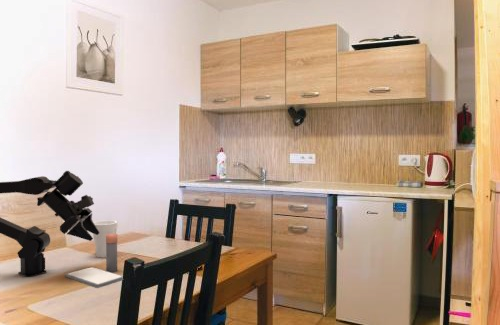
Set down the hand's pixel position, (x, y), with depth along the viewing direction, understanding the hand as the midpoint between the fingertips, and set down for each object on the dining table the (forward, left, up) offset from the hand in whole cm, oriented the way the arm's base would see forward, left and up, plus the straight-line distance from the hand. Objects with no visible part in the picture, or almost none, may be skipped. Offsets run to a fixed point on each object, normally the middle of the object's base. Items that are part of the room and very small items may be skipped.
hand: (95, 236), depth 137 cm
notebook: (-4, -6, -12) cm, 14 cm away
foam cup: (+14, +15, -12) cm, 24 cm away
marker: (+4, -4, -12) cm, 13 cm away
